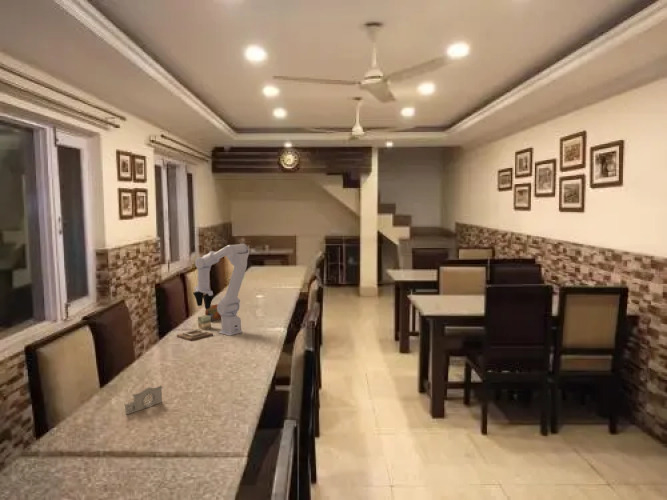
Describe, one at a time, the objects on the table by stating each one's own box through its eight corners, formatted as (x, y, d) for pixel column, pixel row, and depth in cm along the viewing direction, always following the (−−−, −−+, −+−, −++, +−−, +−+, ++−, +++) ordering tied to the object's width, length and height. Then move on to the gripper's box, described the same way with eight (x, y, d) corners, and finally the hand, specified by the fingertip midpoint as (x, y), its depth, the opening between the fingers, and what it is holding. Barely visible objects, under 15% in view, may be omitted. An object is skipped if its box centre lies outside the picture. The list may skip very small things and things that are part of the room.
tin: (208, 322, 264) (207, 306, 263) (204, 321, 265) (203, 305, 265) (230, 316, 275) (229, 301, 275) (226, 316, 277) (225, 301, 277)
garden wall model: (127, 415, 146) (125, 396, 146) (124, 413, 148) (122, 394, 147) (163, 402, 156) (162, 384, 155) (160, 401, 157) (159, 382, 156)
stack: (211, 327, 251) (210, 316, 250) (203, 329, 247) (202, 317, 247) (206, 326, 254) (205, 315, 253) (198, 328, 250) (197, 316, 250)
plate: (213, 335, 235) (212, 331, 235) (190, 341, 227) (190, 337, 226) (198, 331, 244) (198, 328, 243) (176, 336, 235) (176, 333, 234)
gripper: (189, 279, 250) (189, 305, 252) (203, 283, 240) (203, 311, 242) (201, 277, 255) (201, 303, 257) (216, 282, 245) (216, 309, 247)
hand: (203, 307), depth 250 cm, fingers open, 7 cm apart
